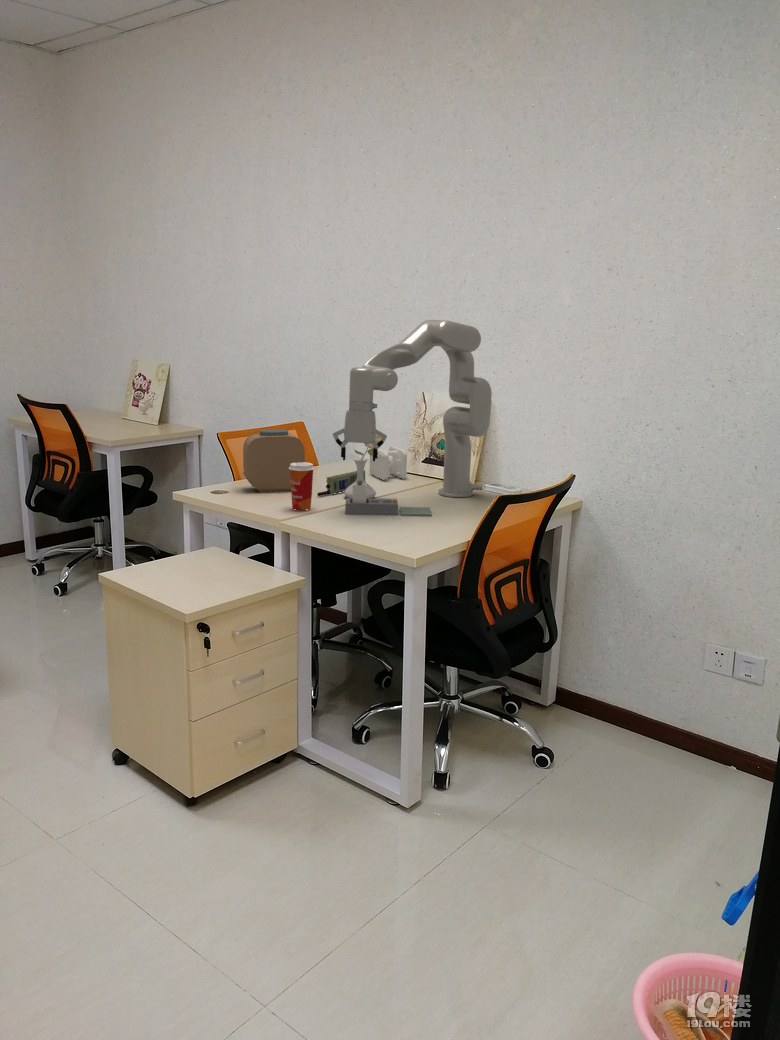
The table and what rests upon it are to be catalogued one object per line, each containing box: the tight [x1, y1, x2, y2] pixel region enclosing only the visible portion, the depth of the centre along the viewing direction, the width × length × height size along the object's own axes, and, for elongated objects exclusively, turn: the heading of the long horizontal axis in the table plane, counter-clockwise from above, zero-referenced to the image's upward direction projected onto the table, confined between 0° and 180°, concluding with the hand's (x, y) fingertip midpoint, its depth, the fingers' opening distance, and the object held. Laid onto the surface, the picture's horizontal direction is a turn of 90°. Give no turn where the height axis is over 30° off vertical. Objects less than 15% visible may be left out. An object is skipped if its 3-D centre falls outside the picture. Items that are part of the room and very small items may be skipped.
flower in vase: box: [343, 428, 382, 499], centre depth 289 cm, size 13×11×25 cm
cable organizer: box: [369, 445, 408, 481], centre depth 327 cm, size 15×11×12 cm
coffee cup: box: [289, 461, 315, 511], centre depth 272 cm, size 8×8×15 cm
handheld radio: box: [317, 469, 366, 497], centre depth 300 cm, size 7×3×25 cm
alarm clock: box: [242, 429, 306, 493], centre depth 299 cm, size 21×10×22 cm, turn 108°
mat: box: [399, 506, 433, 517], centre depth 273 cm, size 10×10×1 cm
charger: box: [353, 481, 368, 503], centre depth 271 cm, size 4×4×10 cm
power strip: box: [344, 497, 399, 516], centre depth 272 cm, size 17×8×4 cm, turn 92°
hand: (359, 460), depth 268 cm, fingers open, 9 cm apart
